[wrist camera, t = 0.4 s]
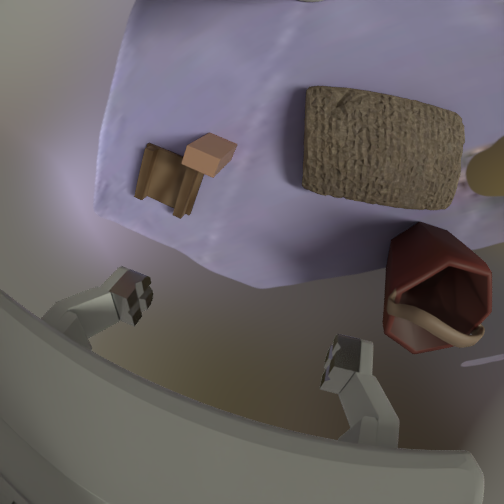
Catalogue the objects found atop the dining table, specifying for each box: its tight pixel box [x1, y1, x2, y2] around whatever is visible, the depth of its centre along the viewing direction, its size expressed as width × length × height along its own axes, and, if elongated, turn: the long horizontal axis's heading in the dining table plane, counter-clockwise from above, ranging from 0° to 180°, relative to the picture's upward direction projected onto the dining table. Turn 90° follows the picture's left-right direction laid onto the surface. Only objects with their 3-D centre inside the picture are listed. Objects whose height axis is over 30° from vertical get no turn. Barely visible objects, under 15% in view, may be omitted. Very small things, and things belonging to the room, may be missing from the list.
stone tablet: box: [302, 86, 465, 210], centre depth 45 cm, size 20×8×30 cm
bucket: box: [383, 222, 492, 354], centre depth 48 cm, size 24×22×25 cm
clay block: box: [181, 133, 238, 178], centre depth 51 cm, size 6×4×11 cm, turn 67°
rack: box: [134, 143, 204, 219], centre depth 60 cm, size 14×12×3 cm
